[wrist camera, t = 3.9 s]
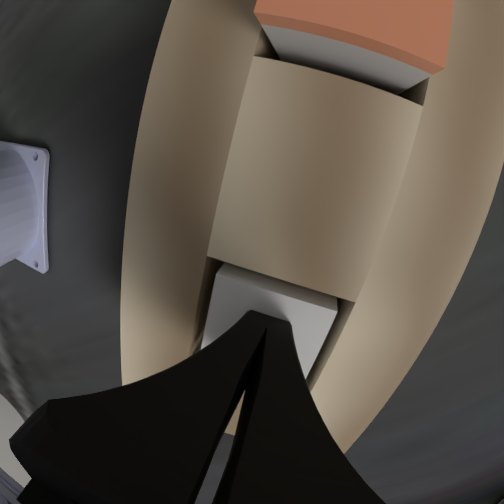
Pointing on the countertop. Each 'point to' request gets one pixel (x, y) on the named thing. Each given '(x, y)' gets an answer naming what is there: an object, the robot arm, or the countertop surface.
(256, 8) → the orange block
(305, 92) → the button block
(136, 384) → the robot arm
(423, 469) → the countertop surface
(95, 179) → the countertop surface
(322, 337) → the matte grey cube
